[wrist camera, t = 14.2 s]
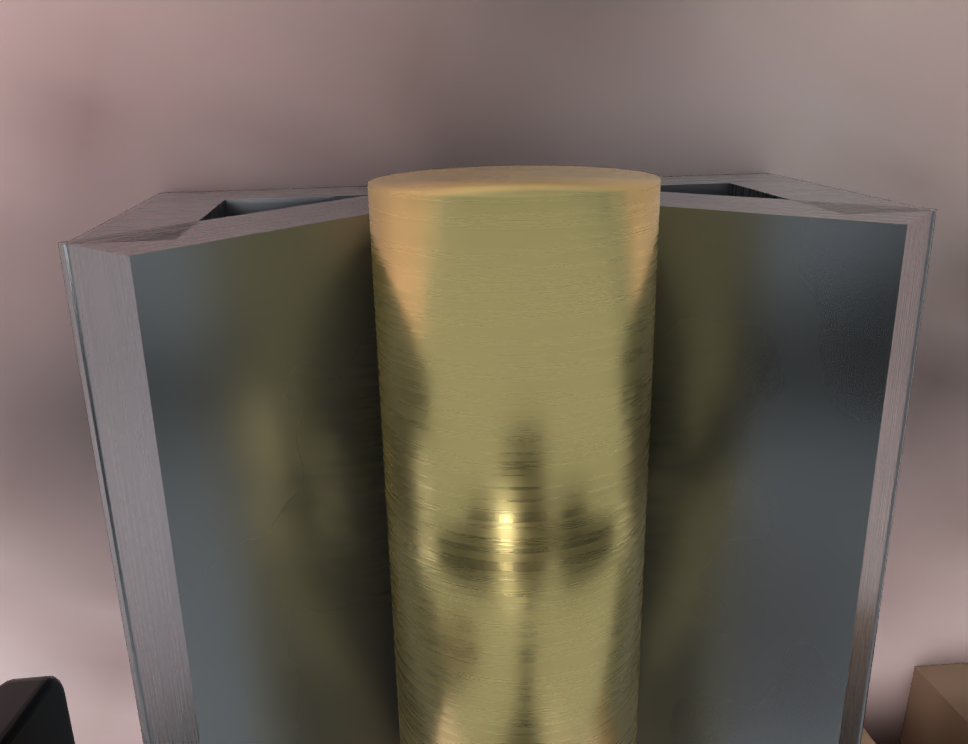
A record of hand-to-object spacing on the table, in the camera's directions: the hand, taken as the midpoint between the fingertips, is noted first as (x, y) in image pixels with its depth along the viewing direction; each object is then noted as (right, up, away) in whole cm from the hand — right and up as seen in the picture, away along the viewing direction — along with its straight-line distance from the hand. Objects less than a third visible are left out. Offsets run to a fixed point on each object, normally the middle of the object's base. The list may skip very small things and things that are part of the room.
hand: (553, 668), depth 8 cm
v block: (-1, +2, +5) cm, 6 cm away
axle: (-1, +1, +4) cm, 4 cm away
